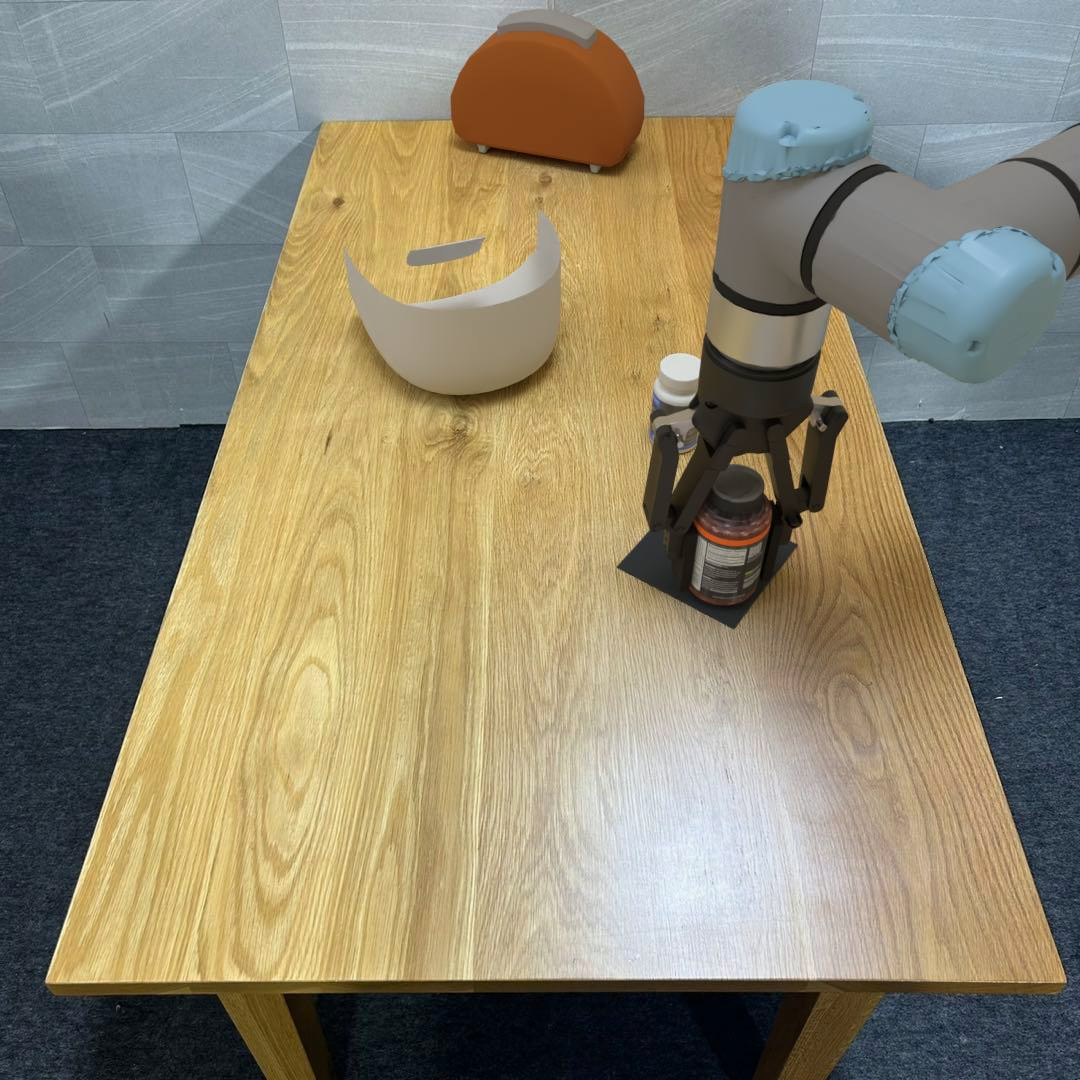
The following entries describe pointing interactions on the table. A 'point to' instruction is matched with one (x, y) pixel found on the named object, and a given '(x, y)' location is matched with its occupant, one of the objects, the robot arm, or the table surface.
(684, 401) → the pill bottle
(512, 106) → the orange toaster
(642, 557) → the mat
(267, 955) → the table surface
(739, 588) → the supplement bottle
